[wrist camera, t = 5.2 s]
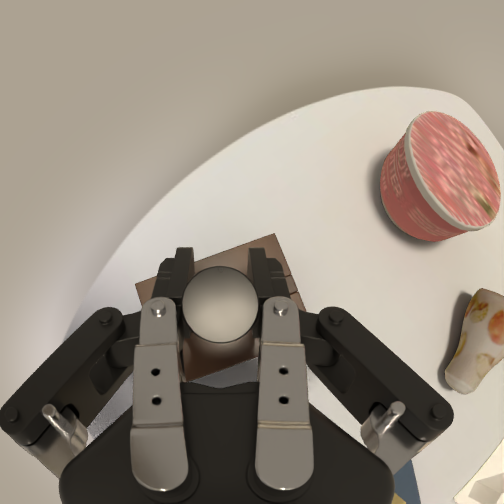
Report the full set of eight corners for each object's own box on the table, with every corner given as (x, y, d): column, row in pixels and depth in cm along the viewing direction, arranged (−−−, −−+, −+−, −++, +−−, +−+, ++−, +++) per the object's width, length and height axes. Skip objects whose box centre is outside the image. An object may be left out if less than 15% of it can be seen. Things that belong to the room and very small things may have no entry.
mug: (417, 383, 23) (492, 328, 16) (439, 315, 29) (494, 257, 22) (466, 416, 21) (542, 373, 14) (481, 347, 27) (538, 298, 20)
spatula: (178, 346, 22) (125, 377, 9) (166, 314, 22) (100, 306, 10) (278, 309, 23) (341, 296, 10) (265, 278, 23) (313, 229, 11)
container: (423, 274, 25) (481, 257, 18) (346, 194, 26) (386, 150, 19) (462, 205, 28) (510, 177, 20) (397, 136, 29) (435, 93, 21)
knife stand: (181, 376, 22) (172, 386, 18) (148, 289, 23) (134, 283, 19) (300, 330, 23) (315, 332, 20) (267, 246, 25) (274, 232, 21)
